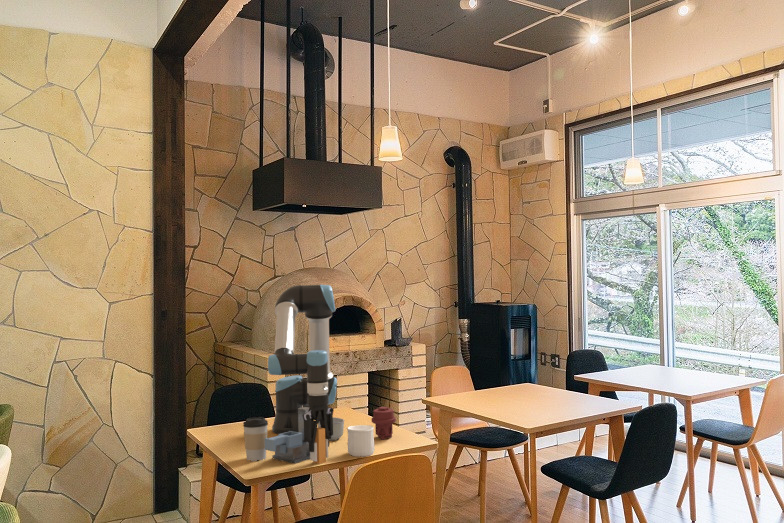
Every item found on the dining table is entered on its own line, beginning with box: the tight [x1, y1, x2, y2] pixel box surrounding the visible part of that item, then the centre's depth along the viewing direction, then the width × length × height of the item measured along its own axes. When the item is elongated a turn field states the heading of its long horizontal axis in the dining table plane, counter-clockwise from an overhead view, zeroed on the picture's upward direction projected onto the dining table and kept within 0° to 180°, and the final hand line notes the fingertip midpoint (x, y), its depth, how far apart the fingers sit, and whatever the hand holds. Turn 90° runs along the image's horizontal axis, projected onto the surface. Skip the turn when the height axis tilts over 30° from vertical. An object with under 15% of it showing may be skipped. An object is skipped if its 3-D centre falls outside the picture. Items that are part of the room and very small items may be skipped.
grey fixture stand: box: [272, 406, 311, 465], centre depth 239 cm, size 12×17×17 cm
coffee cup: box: [242, 416, 269, 462], centre depth 237 cm, size 9×9×15 cm
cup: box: [346, 424, 375, 457], centre depth 240 cm, size 10×10×10 cm
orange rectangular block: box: [312, 426, 327, 465], centre depth 230 cm, size 3×3×12 cm
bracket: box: [265, 431, 302, 454], centre depth 232 cm, size 6×13×6 cm, turn 141°
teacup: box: [317, 416, 345, 442], centre depth 262 cm, size 14×11×8 cm
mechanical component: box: [371, 406, 397, 440], centre depth 263 cm, size 12×10×10 cm
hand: (319, 458), depth 230 cm, fingers open, 5 cm apart
